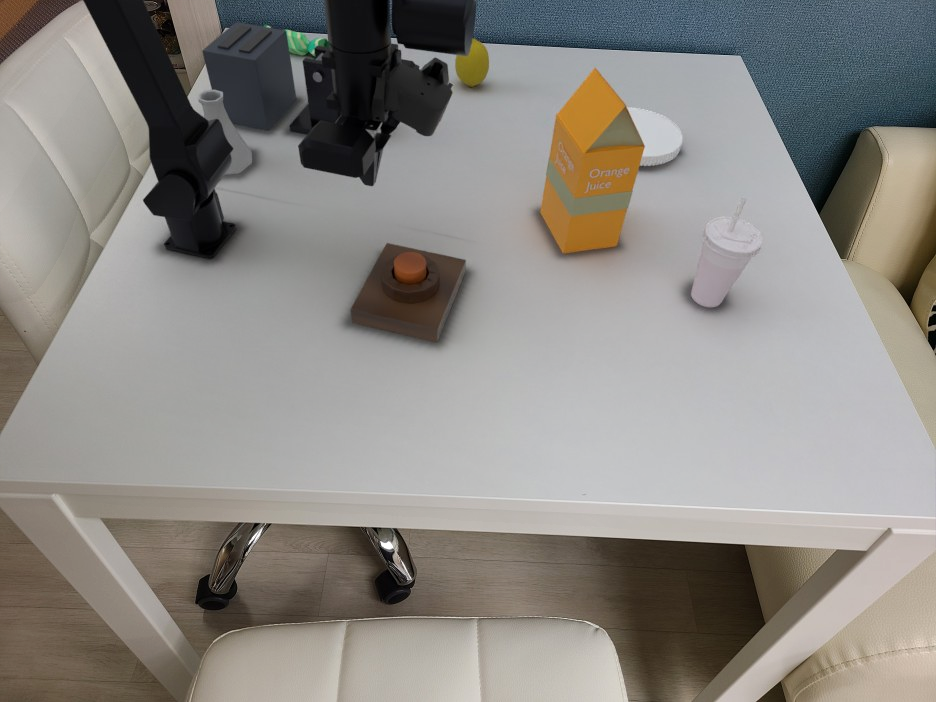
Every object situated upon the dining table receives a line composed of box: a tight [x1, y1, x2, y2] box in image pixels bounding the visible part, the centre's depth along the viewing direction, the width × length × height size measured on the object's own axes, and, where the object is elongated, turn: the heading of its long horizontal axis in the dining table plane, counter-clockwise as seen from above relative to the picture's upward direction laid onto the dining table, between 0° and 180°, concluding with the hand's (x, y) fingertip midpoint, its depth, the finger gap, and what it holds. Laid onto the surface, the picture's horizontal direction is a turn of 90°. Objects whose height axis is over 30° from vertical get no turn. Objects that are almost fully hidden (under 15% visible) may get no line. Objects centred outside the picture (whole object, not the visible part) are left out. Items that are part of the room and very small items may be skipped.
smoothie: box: [690, 196, 764, 308], centre depth 76 cm, size 6×6×14 cm
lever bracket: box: [289, 46, 341, 135], centre depth 98 cm, size 10×8×11 cm
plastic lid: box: [626, 106, 684, 167], centre depth 102 cm, size 14×14×2 cm
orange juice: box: [539, 67, 645, 254], centre depth 81 cm, size 8×9×20 cm
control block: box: [350, 242, 467, 343], centre depth 77 cm, size 12×10×4 cm
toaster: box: [201, 21, 297, 132], centre depth 100 cm, size 10×8×11 cm
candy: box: [263, 23, 329, 58], centre depth 116 cm, size 12×3×4 cm
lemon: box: [454, 37, 490, 88], centre depth 110 cm, size 6×6×8 cm
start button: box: [394, 252, 426, 285], centre depth 75 cm, size 4×4×2 cm
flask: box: [197, 89, 253, 176], centre depth 91 cm, size 7×7×10 cm
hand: (369, 184), depth 73 cm, fingers closed
